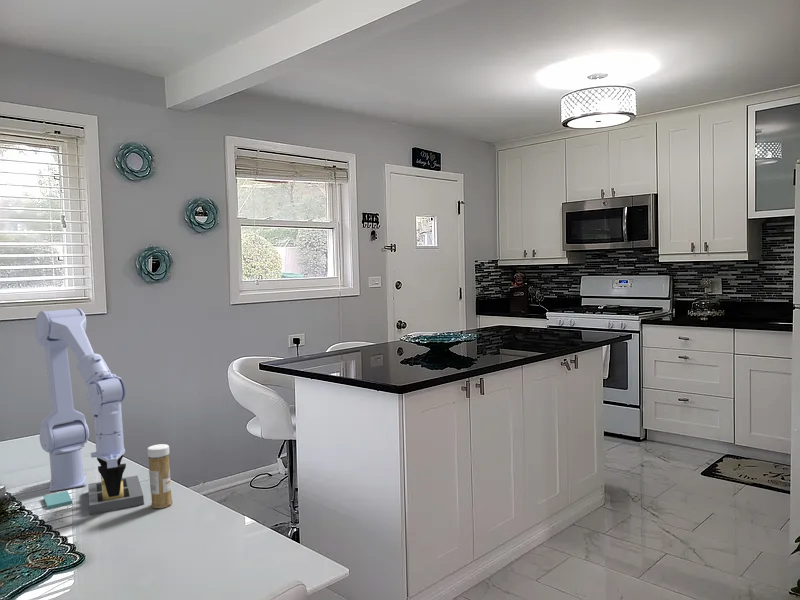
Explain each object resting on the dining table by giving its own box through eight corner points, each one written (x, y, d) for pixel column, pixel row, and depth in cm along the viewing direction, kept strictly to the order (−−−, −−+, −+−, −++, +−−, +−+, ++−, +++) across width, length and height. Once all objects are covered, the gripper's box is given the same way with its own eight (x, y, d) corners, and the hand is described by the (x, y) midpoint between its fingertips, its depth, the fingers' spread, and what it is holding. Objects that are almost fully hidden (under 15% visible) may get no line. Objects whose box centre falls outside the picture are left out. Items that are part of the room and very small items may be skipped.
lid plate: (43, 499, 150) (43, 496, 150) (67, 494, 153) (67, 490, 153) (47, 509, 143) (47, 506, 143) (72, 503, 146) (72, 500, 146)
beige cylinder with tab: (102, 502, 146) (100, 477, 146) (123, 498, 148) (121, 473, 148) (103, 509, 142) (101, 482, 142) (124, 504, 144) (123, 478, 144)
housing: (88, 492, 154) (88, 484, 153) (137, 483, 158) (137, 475, 158) (89, 514, 139) (89, 505, 139) (143, 504, 144) (143, 495, 144)
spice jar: (174, 505, 142) (171, 446, 142) (153, 510, 140) (149, 450, 139) (169, 499, 146) (166, 442, 145) (148, 504, 144) (145, 446, 143)
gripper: (88, 427, 149) (92, 484, 150) (89, 442, 136) (94, 504, 137) (121, 422, 152) (125, 478, 153) (125, 436, 139) (129, 497, 140)
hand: (113, 490), depth 145 cm, fingers open, 7 cm apart
